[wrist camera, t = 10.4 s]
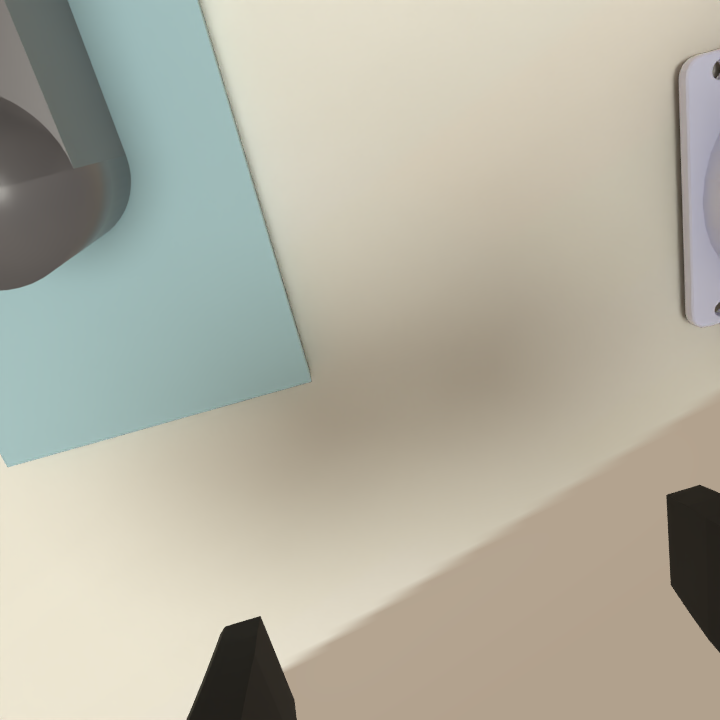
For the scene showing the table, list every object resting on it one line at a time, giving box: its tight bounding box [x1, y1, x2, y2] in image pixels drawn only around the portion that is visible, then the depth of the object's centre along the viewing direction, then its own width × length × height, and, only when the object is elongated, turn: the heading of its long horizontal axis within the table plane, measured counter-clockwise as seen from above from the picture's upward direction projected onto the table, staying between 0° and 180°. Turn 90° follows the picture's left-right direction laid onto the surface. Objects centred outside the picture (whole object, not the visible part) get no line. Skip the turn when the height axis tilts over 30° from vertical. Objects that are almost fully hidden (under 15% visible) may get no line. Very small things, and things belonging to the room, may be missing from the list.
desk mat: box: [0, 0, 312, 467], centre depth 14 cm, size 9×19×1 cm, turn 14°
